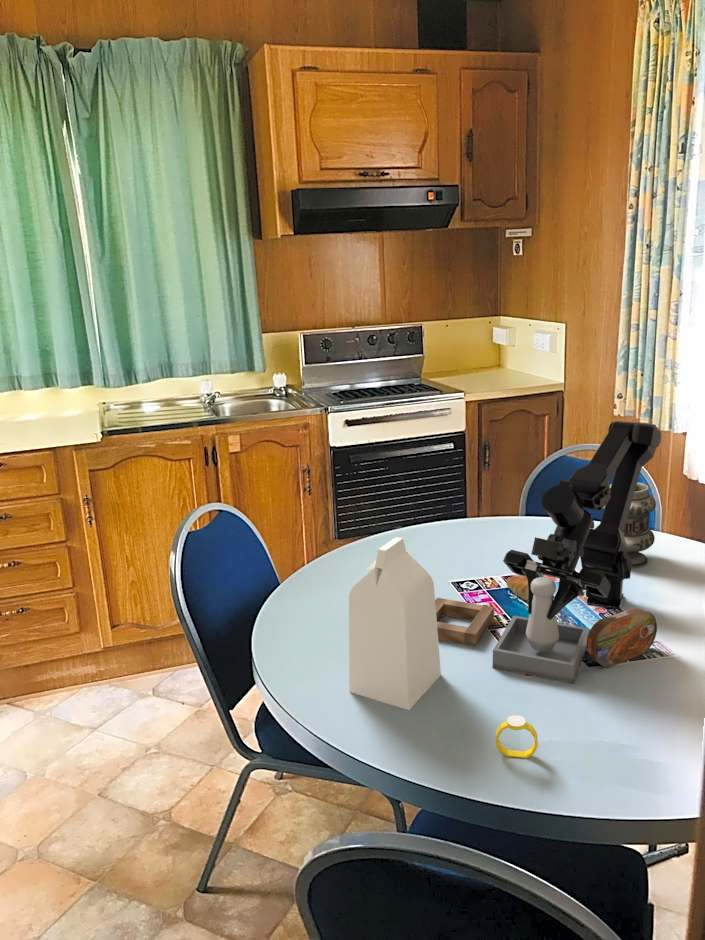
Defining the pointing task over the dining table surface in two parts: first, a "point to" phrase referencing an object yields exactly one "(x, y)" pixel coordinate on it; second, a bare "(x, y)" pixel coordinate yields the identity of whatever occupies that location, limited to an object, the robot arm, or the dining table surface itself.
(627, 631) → the tin
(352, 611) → the milk
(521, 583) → the pastry
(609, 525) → the robot arm
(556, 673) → the bin
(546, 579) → the salt shaker
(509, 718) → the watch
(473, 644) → the brown flat square frame
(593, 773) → the dining table surface
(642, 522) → the apothecary jar
